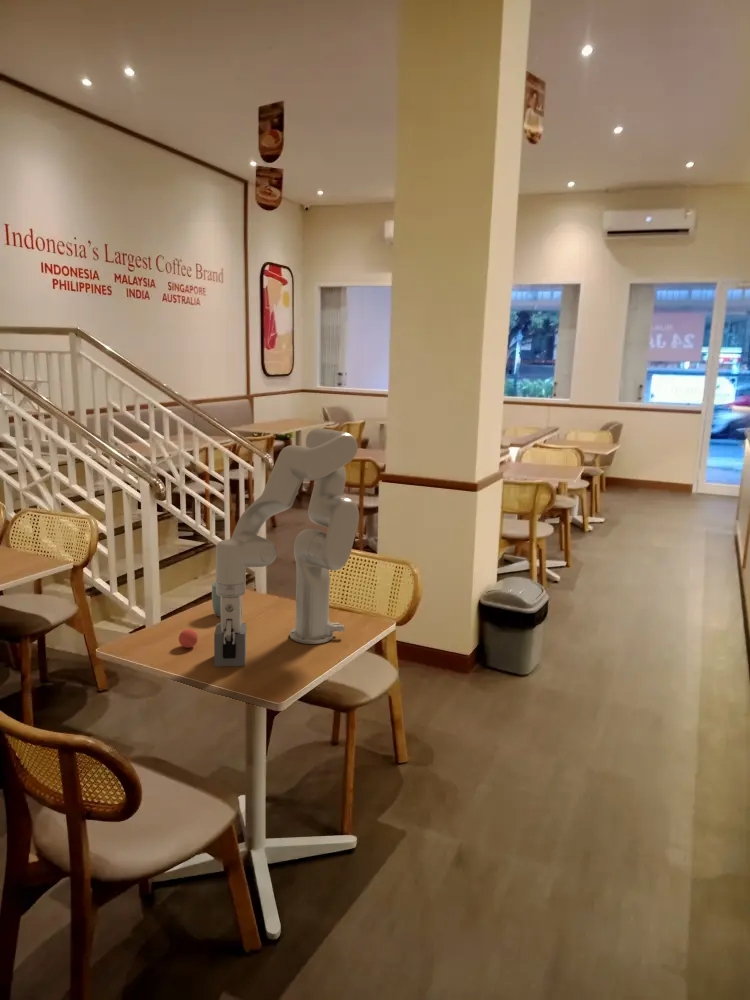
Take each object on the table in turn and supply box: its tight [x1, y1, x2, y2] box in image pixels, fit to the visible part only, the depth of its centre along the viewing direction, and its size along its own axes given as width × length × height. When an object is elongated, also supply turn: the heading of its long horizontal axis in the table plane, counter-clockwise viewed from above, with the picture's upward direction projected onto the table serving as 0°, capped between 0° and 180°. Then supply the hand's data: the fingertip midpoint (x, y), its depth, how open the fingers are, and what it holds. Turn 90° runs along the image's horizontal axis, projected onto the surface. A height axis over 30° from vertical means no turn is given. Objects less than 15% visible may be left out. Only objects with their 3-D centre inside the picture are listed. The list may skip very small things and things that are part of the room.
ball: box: [178, 628, 199, 649], centre depth 194 cm, size 5×5×5 cm
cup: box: [211, 581, 221, 618], centre depth 219 cm, size 8×8×10 cm
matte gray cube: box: [213, 622, 247, 667], centre depth 187 cm, size 8×8×9 cm
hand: (230, 651), depth 187 cm, fingers closed on matte gray cube, 7 cm apart
